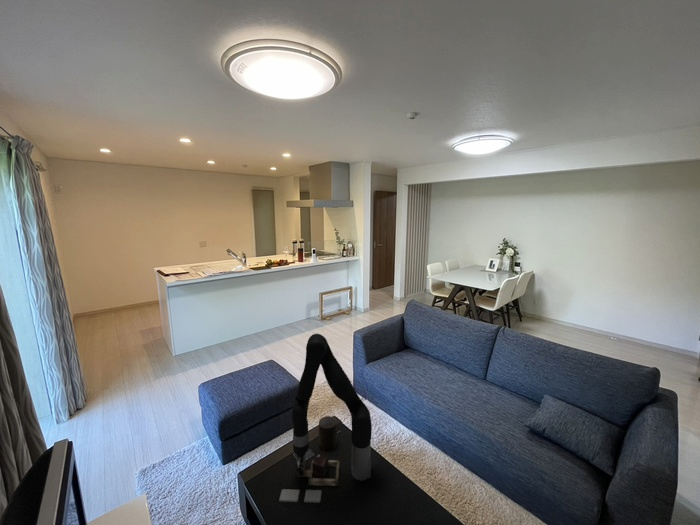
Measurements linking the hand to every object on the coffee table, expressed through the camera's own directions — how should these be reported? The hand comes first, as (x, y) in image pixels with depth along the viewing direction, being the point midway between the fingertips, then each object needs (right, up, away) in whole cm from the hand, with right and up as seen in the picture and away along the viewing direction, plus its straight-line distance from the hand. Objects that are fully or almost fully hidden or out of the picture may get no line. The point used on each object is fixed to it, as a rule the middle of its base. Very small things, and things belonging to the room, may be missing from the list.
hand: (301, 471), depth 138 cm
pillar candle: (+11, +1, +19) cm, 22 cm away
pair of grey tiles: (+1, -3, -11) cm, 11 cm away
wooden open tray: (+8, -1, 0) cm, 8 cm away
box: (+9, -2, +1) cm, 9 cm away
